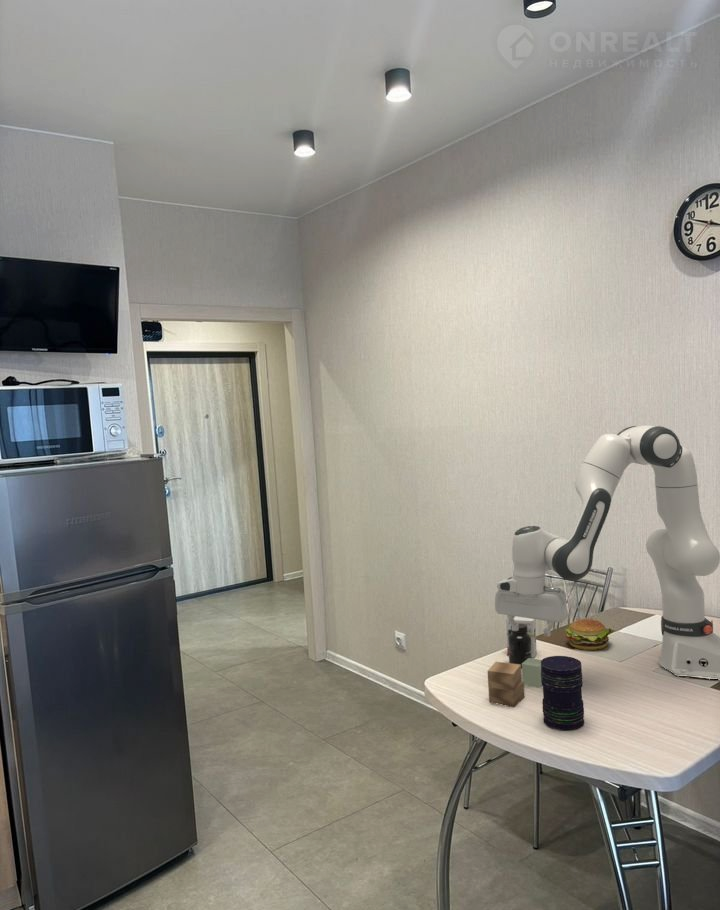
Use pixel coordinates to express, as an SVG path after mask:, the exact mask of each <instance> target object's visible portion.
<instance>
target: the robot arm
mask: <svg viewBox="0 0 720 910" xmlns="http://www.w3.org/2000/svg"><path fill="white" fill-rule="evenodd" d="M632 463H633V464H637V465H642V466H647V465H650V466H651V468H652V469H653V473H654V483H655V484H654V485H655V497H656V510H657V514H658V515H659V517H660V519H661V520H662V522H663V524H664V527H665V528H661V529H656V530H655V531H653V532H651V533H650V534H649V536H648V537H647V539H646V543H645V547H646V551H647V553H648V555H649V557H650V558H651V560H652V562H653V564H654V567H655V573H656V575H657V578H658V581H659V587H660V590H661V605H662V616H661V619H660V631H661V635H662V642H661V649H660V656H659V659H658V662H659V663H658V665H659V664H660V665H661V666H662V667H664V668H666V669H668V670H670V671H672V672H673V673H674V674H676V675H687V676H702V677H711V678H717V679H720V636H719V635H717V634H716V633H715V632H714V621H713V620H711V621H710V620H709V619H707V618H706V617H705V616H706V615H705V614H706V613H705V594H704V590H703V588H702V586H701V585H700V584H699V582H698V579H697V577H706V576H710V575H711V574H713V573H714V572H715V571H717V569H718V567H719V565H720V552H719V549H718V547H717V546H716V545H715V544H714V542H713V541H712V540H711V538H710V536H709V533H708V530H707V528H706V525H705V522H704V519H703V517H702V512H701V507H700V498H699V497H700V496H699V483H698V476H697V475H698V474H697V469H696V465H695V461H694V456H693V454H692V452H691V451H690V450H689V449H688V448H686V447H684V446H682V445H681V443H680V439H679V437H678V435H677V434H676V433H675V432H674V431H673V430H671V429H669V428H667V427H664V426H660V425H659V426H658V425H657V426H656V425H649V424H644V425H639V426H637V425H632V426H628V427H625V428H623V429H622V430H621V431H619V432H618V433H616V434H615V433H605V434H602V435H601V436H599V437H598V438H597V439H596V441H595V442H594V444H593V445H592V446H591V448H590V450H589V451H588V452H587V454H586V456H585V458H584V460H583V461H582V463H581V465H580V467H579V469H578V471H577V473H576V478H575V480H574V487H575V490H576V492H577V494H578V495H579V497H580V499H581V504H582V510H581V514H580V516H579V518H578V521H577V524H576V526H575V528H574V531H573V533H572V535H571V537H570V538H569V539H568V538H566V537H564V536H560V535H557V534H553V533H550V532H549V531H546V530H544V529H543V528H542V527H540V526H538V525H528V526H524V527H520V528H519V529H517V530H516V531H515V532H514V534H513V538H512V550H511V552H512V557H511V558H512V561H513V571H512V576H511V577H506V578H504V579H502V580H500V581H498V582H497V583H496V589H497V591H496V593H495V598H494V609H495V612H496V613H497V614H499V615H504V616H507V617H506V619H507V618H508V620H509V622H510V624H511V625H512V631H518V630H519V624H516V622H515V620H514V617H515V616H517V617H524V618H531V619H536V620H539V621H546V625H547V627H546V628H544V629H543V631H542V632H543V636H544V637H550V636H551V635H552V628H553V627H554V625H555V623H559V624H560V623H563V622H564V621H566V619H567V618H568V609H567V605H566V603H567V594H566V592H565V591H563V590H562V589H561V588H559V587H552V586H546V585H547V583H546V573H547V571H550V570H551V571H553V572H555V573H556V574H557V575H558V576H560V577H561V579H564V580H566V581H573V582H574V581H579V580H581V579H583V578H584V577H586V576H588V574H589V573H590V571H591V569H592V567H593V559H594V551H595V546H596V544H597V542H598V539H599V536H600V533H601V531H602V529H603V526H604V525H605V522H606V519H607V518H608V517H607V516H608V514H609V511H610V508H611V504H612V499H613V496H614V494H615V491H616V489H617V487H618V485H619V483H620V482H621V481H620V480H621V478H622V477H623V475H624V472H625V470H626V469H627V468H628V466H630V464H632ZM660 665H659V666H660ZM661 666H660V667H661ZM662 667H661V668H662ZM664 668H663V669H664ZM666 669H665V670H666ZM668 670H667V671H668ZM670 671H669V672H670Z"/></svg>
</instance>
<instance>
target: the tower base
mask: <svg viewBox="0 0 720 910" xmlns="http://www.w3.org/2000/svg"><path fill="white" fill-rule="evenodd" d="M488 699H489V703H491V702H493V703H492V704H496V703H498V704H497V705H500V704H502V705H501V706H505V705H506V707H511V708H515V707H516V706H517V705H518V704H520V702H521V701H523V699H525V685H524V682H523V680H522V681H521V683H520V684H519V685H518V687H517V688H516V689H515V691H511V690H504V689H497V688H490V687H488Z"/></svg>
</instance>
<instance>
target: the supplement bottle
mask: <svg viewBox="0 0 720 910" xmlns="http://www.w3.org/2000/svg"><path fill="white" fill-rule="evenodd" d="M518 624H519V623H518ZM511 632H512V633H511V634H510V635H509V636H508V648H509V656H508V663H512V664H520V665H521V669H522V663H523V662H524V661H526V660H527V659H528V658H532V659H533V657H532V648H531V637H530V635H529V634H528V633H527V632H528V630H527V625H525V624H519V630H518V631H512V625H511Z"/></svg>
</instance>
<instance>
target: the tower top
mask: <svg viewBox="0 0 720 910" xmlns="http://www.w3.org/2000/svg"><path fill="white" fill-rule="evenodd" d="M521 681H522V682H523V679H522V668H521V665H520V664H512V663H509V662H504V661H503V662H502V661H495V662H494V663H493V664H492V665H491V666H490V667H489V668H488V670H487V683H488V684H487V685H488V686H487V687H488V688H489V687H490V688H497V689H504V690H511V691H515V689H516V688H517V687H518V685H519V684H520V683H521Z"/></svg>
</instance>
